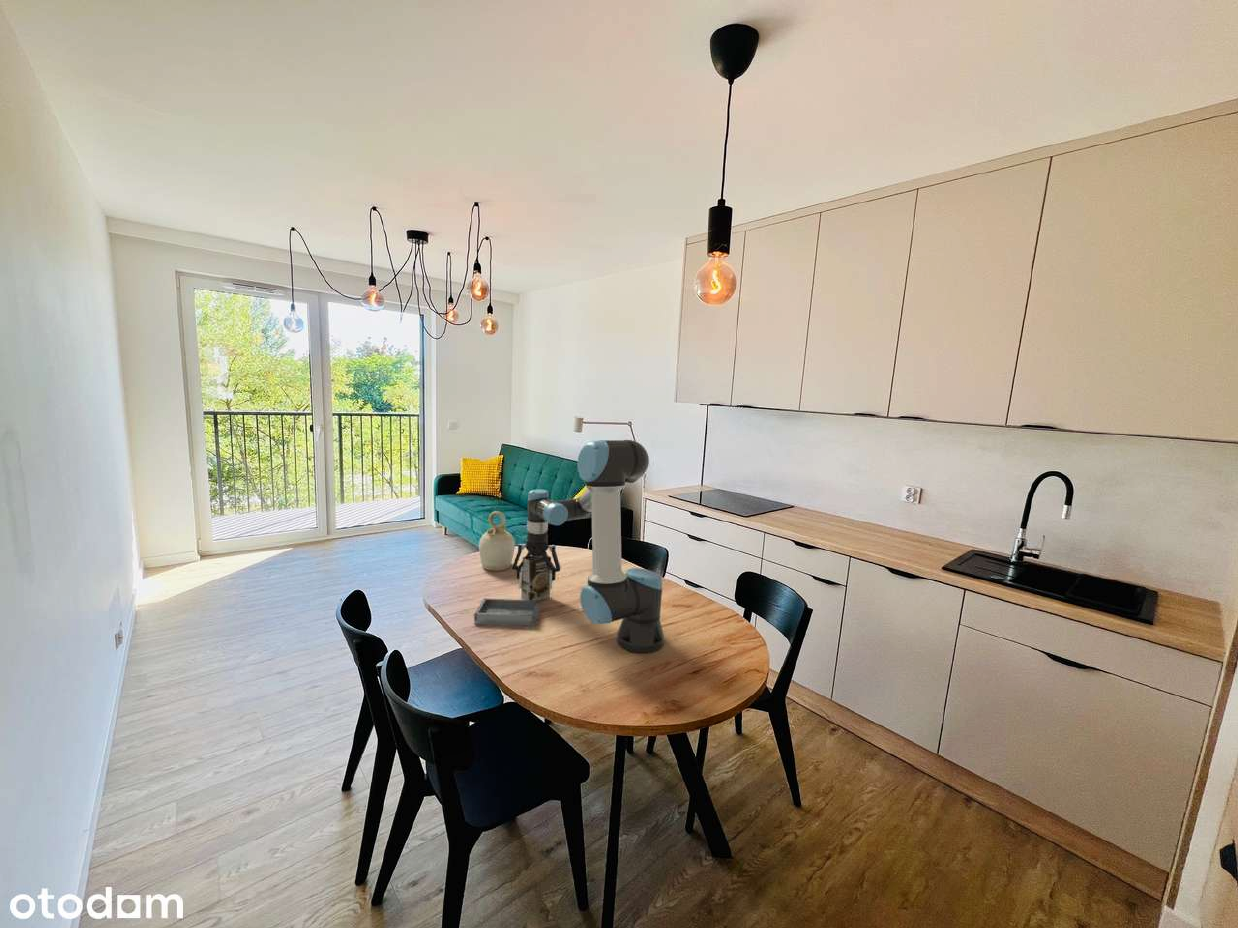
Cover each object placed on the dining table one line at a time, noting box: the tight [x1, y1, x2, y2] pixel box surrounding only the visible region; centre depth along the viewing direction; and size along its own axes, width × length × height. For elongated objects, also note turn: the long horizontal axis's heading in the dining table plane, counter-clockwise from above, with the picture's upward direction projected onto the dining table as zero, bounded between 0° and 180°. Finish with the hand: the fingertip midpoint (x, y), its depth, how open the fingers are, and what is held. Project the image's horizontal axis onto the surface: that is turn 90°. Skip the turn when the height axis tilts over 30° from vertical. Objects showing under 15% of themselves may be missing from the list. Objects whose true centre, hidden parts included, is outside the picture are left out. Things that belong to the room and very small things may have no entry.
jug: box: [478, 510, 516, 572], centre depth 217 cm, size 15×16×25 cm
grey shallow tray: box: [473, 597, 541, 627], centre depth 171 cm, size 20×12×4 cm, turn 91°
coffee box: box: [520, 555, 552, 601], centre depth 187 cm, size 9×6×16 cm
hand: (535, 587), depth 187 cm, fingers closed on coffee box, 11 cm apart
